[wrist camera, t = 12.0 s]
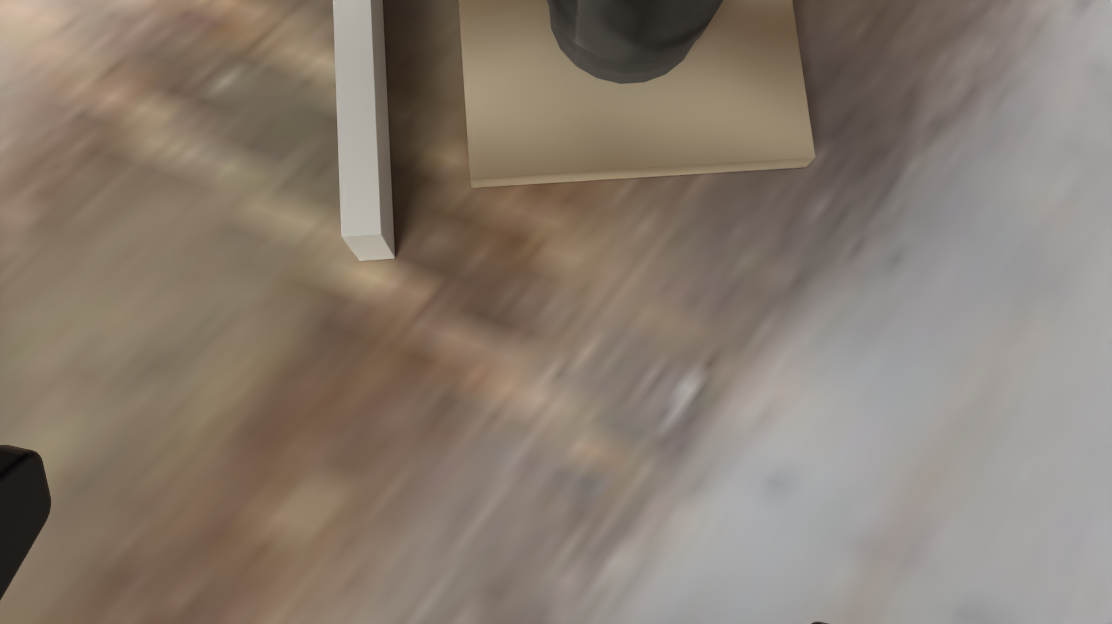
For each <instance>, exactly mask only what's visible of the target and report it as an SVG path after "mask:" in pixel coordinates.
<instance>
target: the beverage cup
mask: <svg viewBox="0 0 1112 624" xmlns="http://www.w3.org/2000/svg"><path fill="white" fill-rule="evenodd" d="M722 2H723V0H547V3H548V5H549V13H550V24H551V30H552V32H553V34H554V36H555V38H556V41H557V43H558V45H559V47H560V49H561V50H562V51H563V52H564V54H565V55H566V56H567V57H568V58H569V59H570V60H571V61H572V62H573V63H574V64H575V66H577V67H578V68H580V69H582V70H584V71H585V72H587V73H589V74H590V75H592V76H594V77H596V78H598V79H602V80H606V81H611V82H615V83H619V84H626V83H643V82H647V81H649V80H652V79H655V78H657V77H660V76H663V75H665V74H667V73H668V72H669V71H671V70H672V69H673V68H674V67H676V66H677V65H678V64H679V63H681V62H682V61H683V60H684V59H685V57H686V55H687V54H688V52H689V51H690V49H691V47H692V46H693V44H694V43H695V41H696V40H698V39H699V38H700V37H701V36H702V34H703V32H704V31H705V29H706V28H707V26H708V24H709V23H710V21H711V20H712V18H713V16H714V15H715V13H716V12H717V10H718V8H719V7H720V5H721V3H722Z"/></svg>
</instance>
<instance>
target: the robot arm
mask: <svg viewBox="0 0 1112 624" xmlns="http://www.w3.org/2000/svg"><path fill="white" fill-rule="evenodd" d="M50 508H51V496H50V492H49V487H48V483H47V479H46V474H45V470H44V465H43V461H42V458H41V456H40V455H39V454H38V453H37V452H35V451H33V450H29V449H24V448H19V447H15V446H10V445H0V600H1V598H2V597H3V595H4V593H5V592H6V590H7V588H8V586H9V585H10V583H11V581H12V579H13V578H14V576H15V574H16V573H17V571H18V569H19V567H20V566H21V564H22V562H23V560H24V559H25V557H26V555H27V554H28V552H29V550H30V548H31V547H32V545H33V543H34V541H35V540H36V538H37V536H38V535H39V533H40V531H41V529H42V528H43V526H44V524H45V522H46V520H47V518H48V515H49V513H50ZM812 624H828V623H823V622H813V623H812Z"/></svg>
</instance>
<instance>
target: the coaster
mask: <svg viewBox="0 0 1112 624" xmlns="http://www.w3.org/2000/svg"><path fill="white" fill-rule="evenodd" d="M458 2H459V17H460V32H461V47H462V62H463V77H464V93H465V108H466V123H467V138H468V153H469V168H470V181H471V187H472V188H476V187H492V186H509V185H525V184H541V183H557V182H574V181H590V180H606V179H623V178H639V177H655V176H672V175H688V174H704V173H720V172H737V171H753V170H769V169H786V168H802V167H806V166H807V165H808V164H809V163H810V162H811V161H812V160H813V159H814V158H815V151H814V145H813V138H812V131H811V124H810V117H809V110H808V104H807V97H806V90H805V83H804V76H803V70H802V63H801V56H800V49H799V42H798V35H797V29H796V22H795V15H794V8H793V1H792V0H723V2H722V3H721V5H720V7H719V8H718V10H717V12H716V13H715V15H714V16H713V18H712V20H711V21H710V23H709V24H708V26H707V28H706V29H705V31H704V32H703V34H702V36H701V37H700V38H699V39H698V40H696V41H695V43H694V44H693V46H692V47H691V49H690V51H689V52H688V54H687V55H686V57H685V59H684V60H683V61H682V62H681V63H679V64H678V65H677V66H676V67H674V68H673V69H672V70H671V71H669V72H668V73H667V74H665V75H663V76H660V77H657V78H655V79H652V80H649V81H647V82H643V83H626V84H619V83H615V82H611V81H606V80H602V79H598V78H596V77H594V76H592V75H590V74H589V73H587V72H585V71H584V70H582V69H580V68H578V67H577V66H575V64H574V63H573V62H572V61H571V60H570V59H569V58H568V57H567V56H566V55H565V54H564V52H563V51H562V50H561V49H560V47H559V45H558V43H557V41H556V38H555V36H554V34H553V32H552V30H551V24H550V13H549V5H548V3H547V0H458Z"/></svg>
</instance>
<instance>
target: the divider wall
mask: <svg viewBox="0 0 1112 624" xmlns="http://www.w3.org/2000/svg"><path fill="white" fill-rule="evenodd" d="M333 15H334V43H335V70H336V98H337V126H338V154H339V182H340V210H341V237H342V238H343V240H344V241H345V242H346V243H347V245H348V246H349V247H350V249H351V250H352V251H353V253H354V254H355V255H356V257H357V258H358V259H359V261H365V260H380V259H395V248H394V227H393V206H392V185H391V164H390V143H389V122H388V101H387V80H386V59H385V38H384V17H383V0H333Z"/></svg>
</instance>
